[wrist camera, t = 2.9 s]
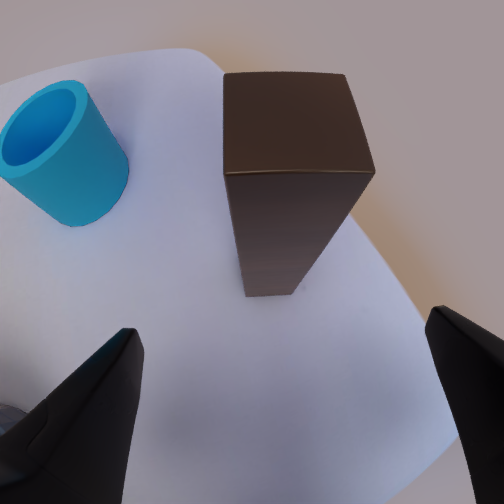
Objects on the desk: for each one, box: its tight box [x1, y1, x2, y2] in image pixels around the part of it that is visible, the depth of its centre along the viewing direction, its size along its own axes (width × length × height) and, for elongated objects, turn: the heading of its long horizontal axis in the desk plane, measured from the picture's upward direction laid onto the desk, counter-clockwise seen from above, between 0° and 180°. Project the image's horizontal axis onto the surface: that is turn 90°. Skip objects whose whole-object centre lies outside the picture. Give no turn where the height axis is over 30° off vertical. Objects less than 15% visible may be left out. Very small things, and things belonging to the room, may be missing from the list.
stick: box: [223, 72, 375, 297], centre depth 13 cm, size 3×3×15 cm
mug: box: [0, 80, 129, 227], centre depth 19 cm, size 12×8×8 cm
